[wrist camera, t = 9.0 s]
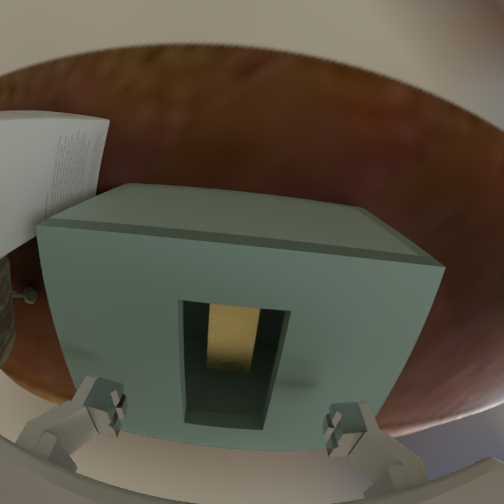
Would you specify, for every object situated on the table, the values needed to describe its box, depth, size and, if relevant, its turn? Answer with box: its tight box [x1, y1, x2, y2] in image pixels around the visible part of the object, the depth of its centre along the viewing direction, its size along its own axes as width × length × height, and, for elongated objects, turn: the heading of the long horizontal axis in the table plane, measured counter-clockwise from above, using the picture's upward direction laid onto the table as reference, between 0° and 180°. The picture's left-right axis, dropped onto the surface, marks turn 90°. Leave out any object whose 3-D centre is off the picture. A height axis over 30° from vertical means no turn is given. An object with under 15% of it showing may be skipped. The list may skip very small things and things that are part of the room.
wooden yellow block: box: [207, 303, 260, 373], centre depth 17 cm, size 2×5×6 cm, turn 173°
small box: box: [0, 111, 110, 259], centre depth 11 cm, size 8×6×13 cm
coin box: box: [36, 183, 446, 451], centre depth 16 cm, size 16×12×10 cm
